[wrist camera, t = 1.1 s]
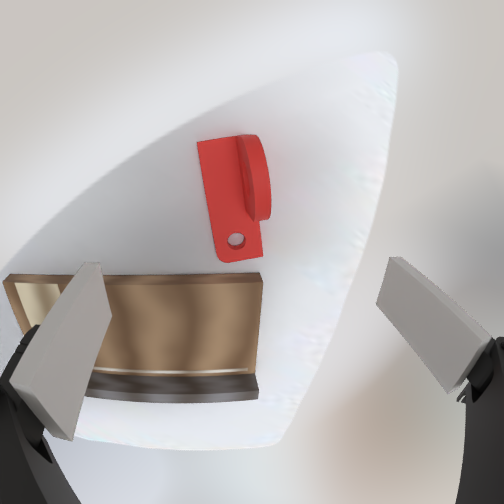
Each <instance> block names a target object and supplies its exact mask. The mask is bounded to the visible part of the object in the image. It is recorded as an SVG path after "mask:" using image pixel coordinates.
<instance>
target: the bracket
mask: <svg viewBox="0 0 504 504" xmlns="http://www.w3.org/2000/svg"><path fill="white" fill-rule="evenodd" d="M197 146H198V152H199V159H200V165H201V171H202V177H203V183H204V188H205V194H206V200H207V205H208V211H209V216H210V222H211V227H212V232H213V238H214V243H215V248H216V253H217V257H218V258H219V260H221V261H222V262H225V263H230V262H235V261H241V260H246V259H251V258H257V257H262V256H263V250H262V241H261V233H260V225H259V221H261V220H267V219H269V218H270V214H271V188H270V179H269V172H268V167H267V162H266V158H265V154H264V150H263V147H262V144H261V142H260V140H259V138H258V137H257V135H239V136H232V137H225V138H219V139H213V140H207V141H201V142H197ZM233 233H241V234H243V235H244V241H243V242H242V244H240V245H238V246H232V245H230V244H229V243H228V242H227V240H228V238H229V236H230V235H231V234H233Z"/></svg>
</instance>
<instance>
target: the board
mask: <svg viewBox="0 0 504 504" xmlns="http://www.w3.org/2000/svg"><path fill="white" fill-rule="evenodd" d="M74 276H75V275H24V274H10V275H9V276H8V277H7V278H6V279H5V280H4V281H3V285H4V288H5V291H6V294H7V296H8V299H9V302H10V304H11V307H12V309H13V312H14V314H15V317H16V319H17V321H18V323H19V326H20V328H21V330H22V332H23V334H24V335H25V334H26V332H28V331H29V330H30V329H31V328H32V327H33V326H35V325H36V324H37V325H41V324H42V322H43V320H44V319H45V317H46V316H47V314H48V313H49V311H50V310H51V308H52V307H53V305H54V304H55V302H56V301H57V299H58V298H59V296H60V295H61V294H62V292H63V291H64V289H65V288H66V287H67V285H68V284H69V282H70V281H71V280H72V278H73V277H74ZM103 280H104V285H105V289H106V294H107V298H108V302H109V306H110V310H111V313H112V318H111V321H110V323H109V326H108V328H107V331H106V333H105V336H104V339H103V341H102V344H101V347H100V350H99V352H98V355H97V358H96V361H95V364H94V367H93V370H92V373H91V376H90V379H89V382H88V385H87V389H86V392H85V395H84V396H87V397H94V398H102V399H111V400H121V401H133V402H150V403H213V402H231V401H244V400H255V399H258V394H259V388H258V384H257V380H256V376H255V366H256V356H257V345H258V335H259V324H260V313H261V302H262V290H263V280H262V278H261V275H260V273H237V274H195V275H103Z"/></svg>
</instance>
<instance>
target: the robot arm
mask: <svg viewBox="0 0 504 504" xmlns="http://www.w3.org/2000/svg"><path fill="white" fill-rule="evenodd" d="M376 305H377V306H378V307H379V309H380V310H381V311H382V312H383V313H384V314H385V315H386V317H387V318H388V319H389V320H390V321H391V323H392V324H393V325H394V326H395V327H396V329H397V330H398V331H399V332H400V334H401V335H402V336H403V337H404V338H405V340H406V341H407V342H408V343H409V345H410V346H411V347H412V348H413V350H414V351H415V352H416V353H417V355H418V356H419V357H420V358H421V360H422V361H423V362H424V364H425V365H426V366H427V367H428V369H429V370H430V371H431V373H432V374H433V375H434V377H435V378H436V379H437V381H438V382H439V383H440V385H441V386H442V387H443V389H444V390H445V391H446V393H447V394H449V393H451V392H453V391H455V390H457V389H458V388H459V387H460V386H461V385H462V383H463V382H464V380H465V379H466V378H467V379H468V380H469V383H468V384H467V385H466V387H465V388H464V390H463V391H462V392H461V393H460V395H459V396H458V397H457V402H459V400H460V399H461V398H462V397H463V396H464V395H466V396H465V397H464V398H463V400H462V401H461V402H462V403H466V424H465V425H466V426H465V442H464V454H463V463H462V470H461V478H460V483H459V489H458V494H457V499H456V503H455V504H504V337H498V338H497V339H496V340H494V339H493V338H492V336H491V335H490V334H489V333H488V332H487V331H486V330H485V329H484V328H483V327H482V326H480V324H479V323H478V322H476V320H475V319H473V318H472V317H471V316H470V315H469V314H468V313H467V312H466V311H465V310H464V309H463V308H461V307H460V306H459V305H458V304H457V303H456V302H455V301H454V300H453V299H451V298H450V297H449V296H448V295H447V294H446V293H445V292H443V291H442V290H441V289H440V288H439V287H438V286H436V285H435V284H434V283H433V282H432V281H430V280H429V279H428V278H427V277H425V276H424V275H423V274H422V273H421V272H419V271H418V270H417V269H416V268H414V267H413V266H412V265H411V264H409V263H408V262H407V261H406V260H404V259H403V258H402V257H389V261H388V265H387V269H386V272H385V276H384V280H383V283H382V286H381V289H380V292H379V296H378V299H377V302H376ZM111 318H112V313H111V310H110V306H109V302H108V298H107V294H106V289H105V285H104V280H103V275H102V271H101V266H100V263H84V264H83V265H82V266H81V268H80V269H79V270H78V272H77V273H76V274H75V276H74V277H73V278H72V280H71V281H70V282H69V284H68V285H67V287H66V288H65V289H64V291H63V292H62V294H61V295H60V296H59V298H58V299H57V301H56V302H55V304H54V305H53V307H52V308H51V310H50V311H49V313H48V314H47V316H46V317H45V319H44V320H43V322H42V324H41V325H37V324H36V325H35V326H33V327H32V328H31V329H30V330H29V331H28V332H26V334H25V335H24V337H23V339H22V340H21V342H20V345H18V347H17V349H16V350H15V353H14V354H13V355H12V357H11V359H10V361H9V362H8V364H7V366H6V368H5V370H4V372H3V373H2V375H1V377H0V504H81V502H80V501H79V500H78V498H77V496H76V495H75V493H74V492H73V490H72V488H71V486H70V485H69V483H68V481H67V480H66V478H65V476H64V474H63V472H62V471H61V469H60V467H59V465H58V463H57V461H56V459H55V457H54V455H53V453H52V451H51V449H50V447H49V445H48V442H47V441H46V439H45V438H44V436H43V431H44V428H46V429H47V430H48V431H49V432H50V434H51V435H52V436H53V437H57V438H60V439H64V440H68V441H73V437H74V433H75V429H76V425H77V421H78V417H79V413H80V409H81V406H82V402H83V399H84V395H85V392H86V389H87V385H88V382H89V379H90V376H91V373H92V370H93V367H94V364H95V361H96V358H97V355H98V352H99V350H100V347H101V344H102V341H103V339H104V336H105V333H106V331H107V328H108V326H109V323H110V321H111Z"/></svg>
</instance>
